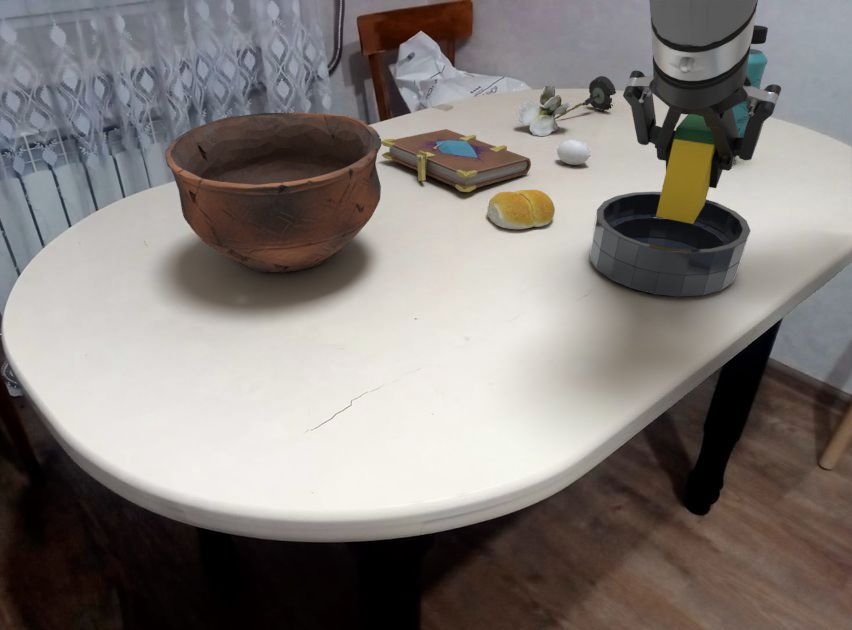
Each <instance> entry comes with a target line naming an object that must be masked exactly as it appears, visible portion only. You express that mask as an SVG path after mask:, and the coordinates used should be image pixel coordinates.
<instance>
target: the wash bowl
mask: <svg viewBox="0 0 852 630" xmlns="http://www.w3.org/2000/svg"><path fill="white" fill-rule="evenodd" d="M661 192H662V191H637V192H629V193H625V194H619V195H615V196H613V197H611V198H608V199H607V200H605V201H603V202H602V203H601V204H600V205H599V207H598V208H597V209H596V211H595V218H594V224H593V228H592V229H593V231H592V236H591V242H590V247H589V261H590V262H591V263H592V265H593V266H594V268H595V269H596V270H597V271H598V272H600V273H601V274H602V275H604V276H605V277H607V278H608V279H609V280H611V281H612V282H615V283H618V284H620V285H622V286H624V287H627V288H629V289H633V290H637V291H641V292H645V293H648V294H652V295H659V296H668V297H669V296H670V297H694V296H696V297H697V296H704V295H709V294H711V293H716V292H720V291H722V290H724V289H725V288H727V287H728V286H730V285H732V284H733V283H734V281H735V279H736V276H737V274H738V272H739V268H740V265H741V262H742V259H743V257H744V252H745V249H746V247H747V243H748V240H749V237H750V234H751V228H750V226H749V223H748V221H747V219H745V218H744V217H743V216H741V215H740V214H739V213H738V212H737V211H735V210H733V209H731V208H730V207H727V206H725V205H723V204H721V203H719V202H716V201H713V200H709V199H707V198H706V201H705V204H704V206H703V208H702V210H701V211H700V213H699V215H698V216H697V218H696V220H695V221H694V223H693V224H691V223H686V222H681V221H676V220H671V219H666V218H661V217H656V214H657V209H658V205H659V201H660V196H661Z"/></svg>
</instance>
